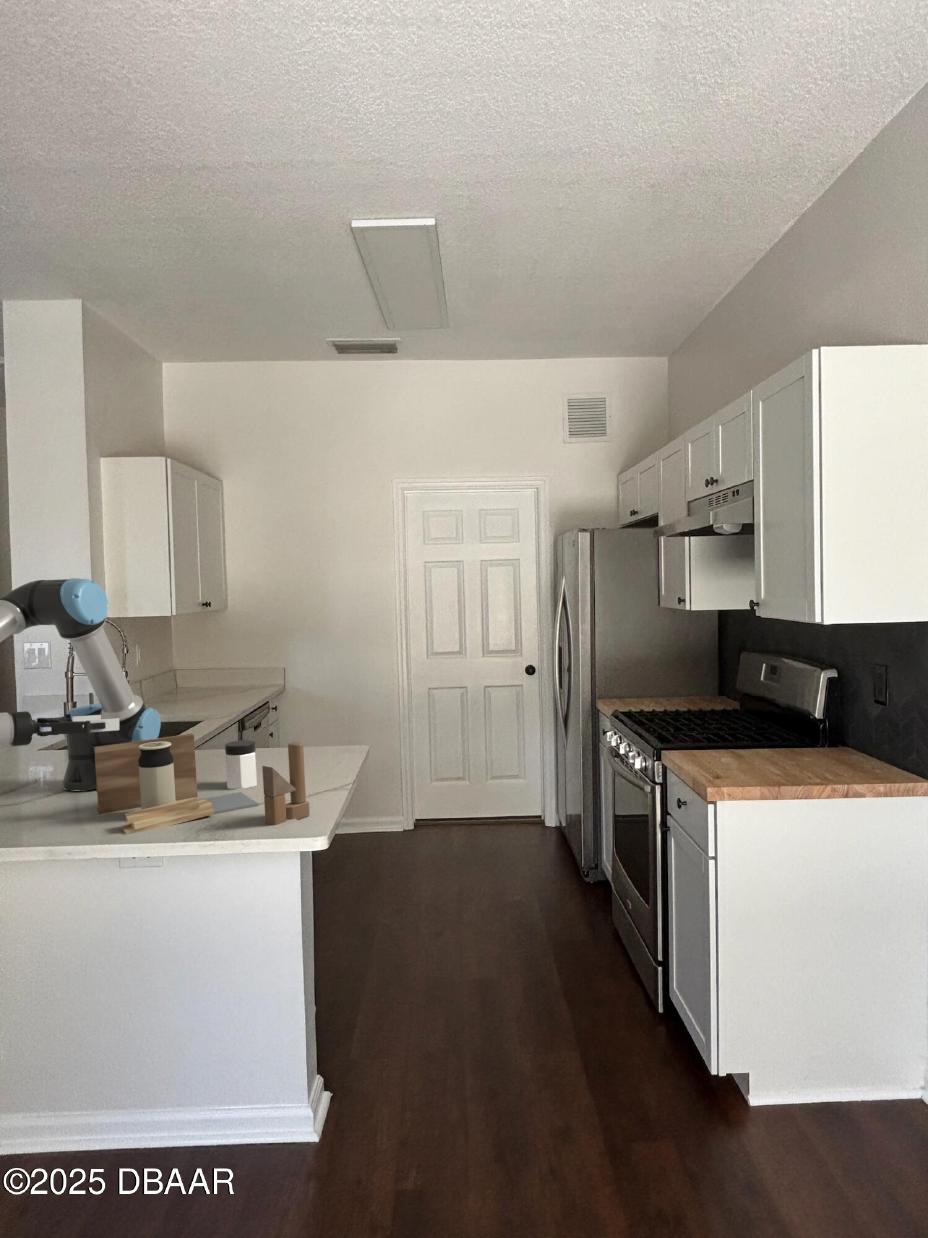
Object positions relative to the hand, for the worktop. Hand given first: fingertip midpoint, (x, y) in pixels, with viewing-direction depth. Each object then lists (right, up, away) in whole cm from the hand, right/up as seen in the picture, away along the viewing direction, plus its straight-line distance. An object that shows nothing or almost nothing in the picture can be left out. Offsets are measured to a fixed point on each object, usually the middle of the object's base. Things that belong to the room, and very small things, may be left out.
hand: (109, 722), depth 198 cm
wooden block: (+43, -23, -1) cm, 49 cm away
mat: (+23, -23, +13) cm, 35 cm away
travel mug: (+9, -24, +6) cm, 27 cm away
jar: (+23, -22, +34) cm, 46 cm away
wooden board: (+4, -24, +15) cm, 28 cm away
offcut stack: (+14, -24, -1) cm, 28 cm away
